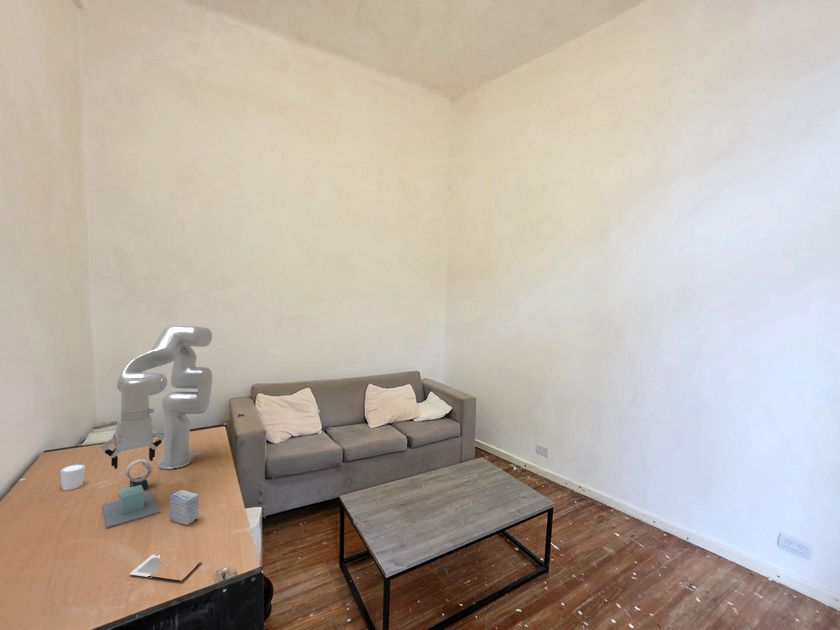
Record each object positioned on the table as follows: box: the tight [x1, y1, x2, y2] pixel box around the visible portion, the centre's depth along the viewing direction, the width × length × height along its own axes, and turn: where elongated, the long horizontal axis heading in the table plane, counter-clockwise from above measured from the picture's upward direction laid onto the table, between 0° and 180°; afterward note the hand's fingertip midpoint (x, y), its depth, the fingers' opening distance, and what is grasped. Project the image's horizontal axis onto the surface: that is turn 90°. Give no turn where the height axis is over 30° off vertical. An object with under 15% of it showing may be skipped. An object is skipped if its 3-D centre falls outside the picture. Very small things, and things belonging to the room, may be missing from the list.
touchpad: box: [129, 553, 176, 578], centre depth 101 cm, size 8×15×2 cm, turn 85°
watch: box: [125, 458, 153, 491], centre depth 140 cm, size 6×8×11 cm
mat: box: [101, 492, 161, 530], centre depth 127 cm, size 14×16×1 cm
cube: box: [118, 485, 145, 515], centre depth 127 cm, size 6×6×6 cm
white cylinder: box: [59, 463, 86, 491], centre depth 139 cm, size 7×7×7 cm
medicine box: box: [169, 489, 200, 526], centre depth 123 cm, size 8×4×9 cm, turn 71°
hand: (133, 463), depth 127 cm, fingers open, 9 cm apart
